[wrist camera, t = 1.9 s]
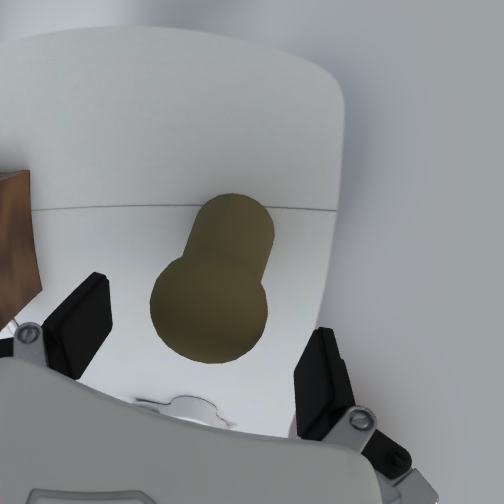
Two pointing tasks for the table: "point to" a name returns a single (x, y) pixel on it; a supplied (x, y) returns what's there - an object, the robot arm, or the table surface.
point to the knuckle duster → (188, 411)
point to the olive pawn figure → (216, 283)
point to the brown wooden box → (16, 247)
